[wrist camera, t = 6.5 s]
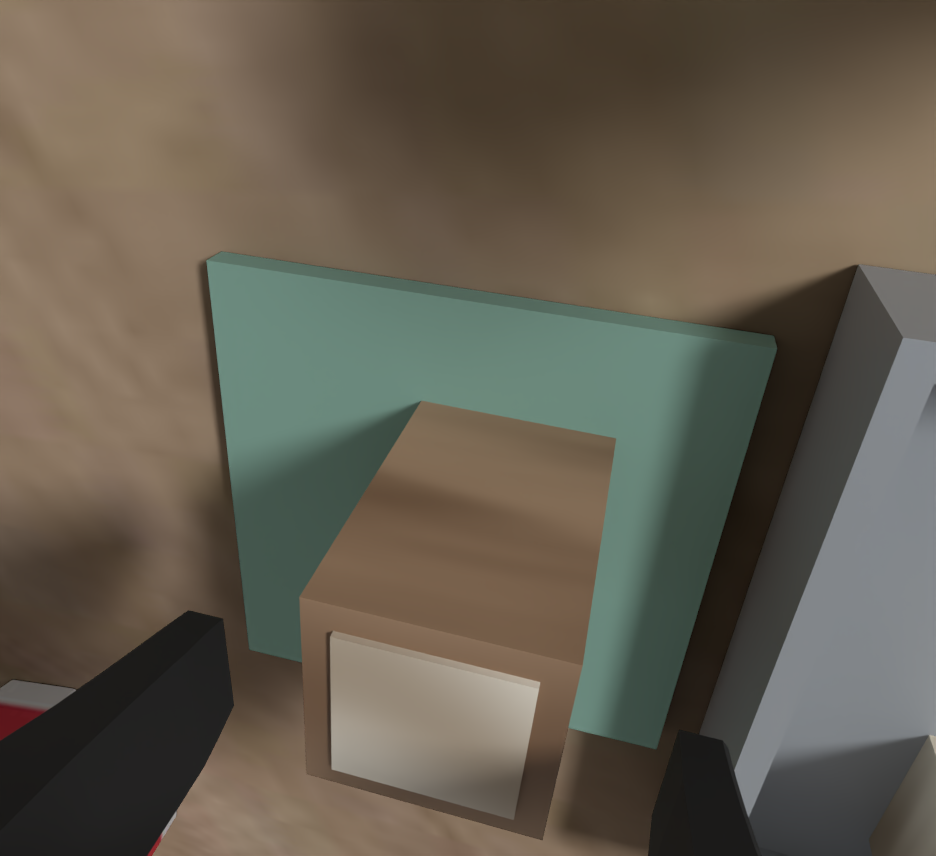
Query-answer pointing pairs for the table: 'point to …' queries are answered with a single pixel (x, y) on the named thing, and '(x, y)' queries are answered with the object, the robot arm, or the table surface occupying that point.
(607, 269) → the table surface
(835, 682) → the tray
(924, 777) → the birch block
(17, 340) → the table surface
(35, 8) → the table surface
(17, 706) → the spray bottle
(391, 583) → the walnut block
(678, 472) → the mat
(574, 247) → the table surface
